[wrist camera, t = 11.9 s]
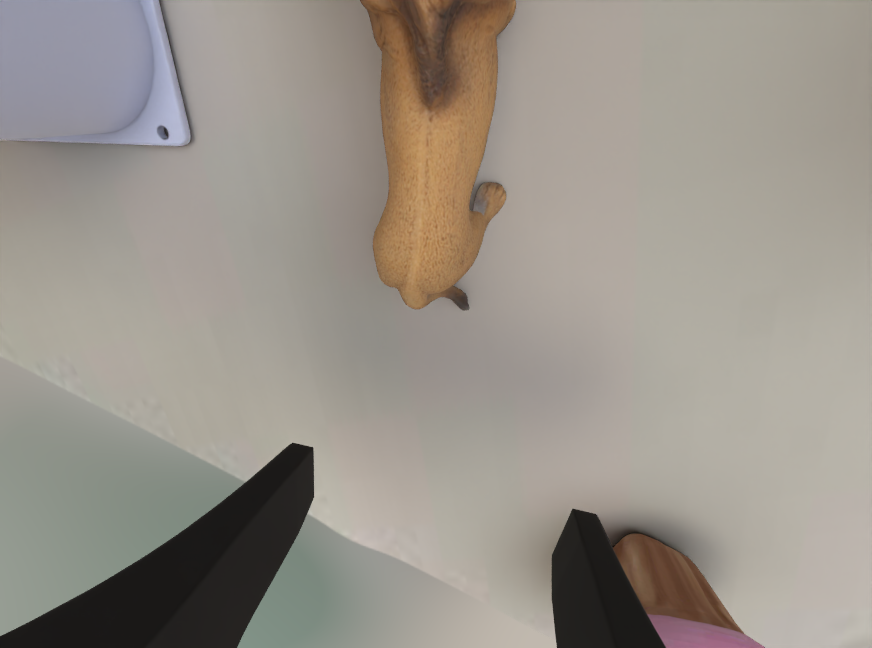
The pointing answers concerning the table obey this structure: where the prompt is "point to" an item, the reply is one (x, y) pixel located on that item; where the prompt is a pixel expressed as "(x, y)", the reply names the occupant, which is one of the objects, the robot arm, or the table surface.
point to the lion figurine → (435, 139)
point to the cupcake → (677, 597)
